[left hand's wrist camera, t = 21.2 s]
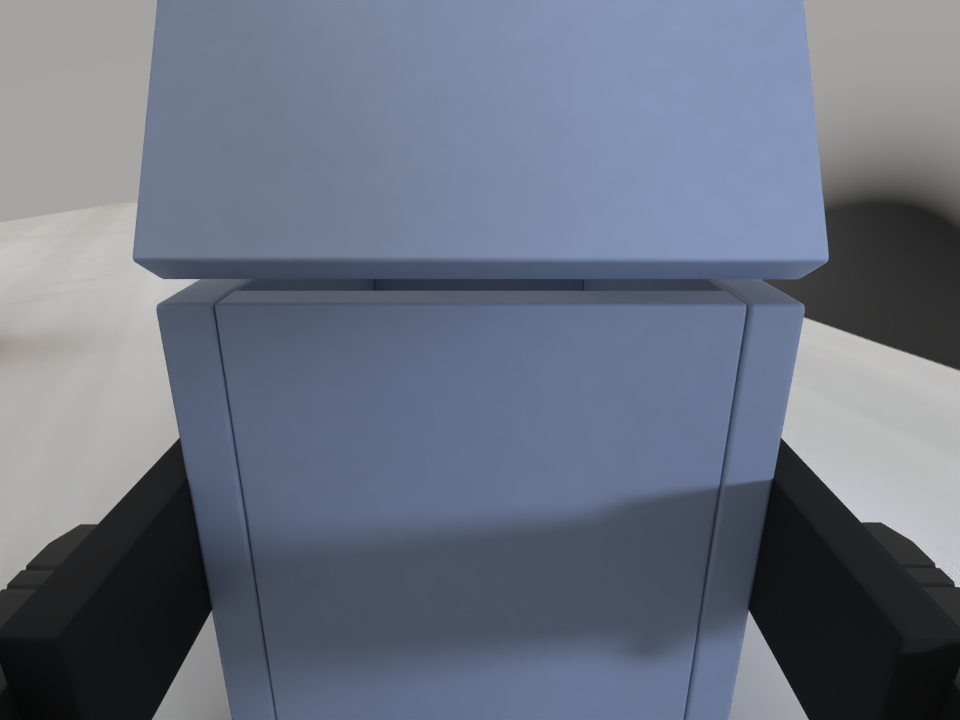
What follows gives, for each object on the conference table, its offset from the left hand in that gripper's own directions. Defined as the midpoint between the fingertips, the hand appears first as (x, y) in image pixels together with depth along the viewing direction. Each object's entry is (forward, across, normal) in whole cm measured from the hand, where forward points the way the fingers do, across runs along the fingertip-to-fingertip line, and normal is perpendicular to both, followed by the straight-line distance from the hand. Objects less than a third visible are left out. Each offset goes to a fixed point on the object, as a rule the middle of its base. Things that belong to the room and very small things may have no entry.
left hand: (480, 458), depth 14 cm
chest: (+5, 0, -7) cm, 8 cm away
